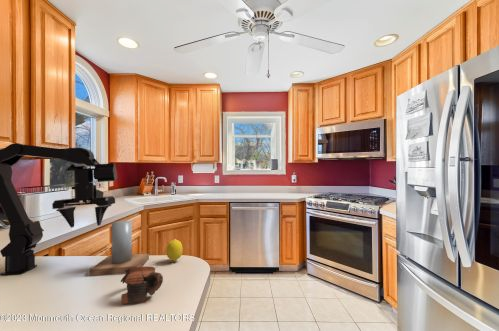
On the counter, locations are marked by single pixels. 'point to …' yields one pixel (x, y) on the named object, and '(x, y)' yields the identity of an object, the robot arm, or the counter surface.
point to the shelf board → (118, 265)
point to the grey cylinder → (121, 242)
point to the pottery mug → (140, 284)
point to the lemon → (174, 250)
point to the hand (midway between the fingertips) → (85, 226)
